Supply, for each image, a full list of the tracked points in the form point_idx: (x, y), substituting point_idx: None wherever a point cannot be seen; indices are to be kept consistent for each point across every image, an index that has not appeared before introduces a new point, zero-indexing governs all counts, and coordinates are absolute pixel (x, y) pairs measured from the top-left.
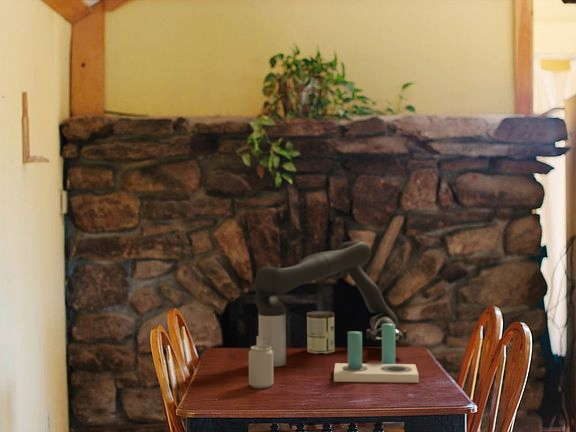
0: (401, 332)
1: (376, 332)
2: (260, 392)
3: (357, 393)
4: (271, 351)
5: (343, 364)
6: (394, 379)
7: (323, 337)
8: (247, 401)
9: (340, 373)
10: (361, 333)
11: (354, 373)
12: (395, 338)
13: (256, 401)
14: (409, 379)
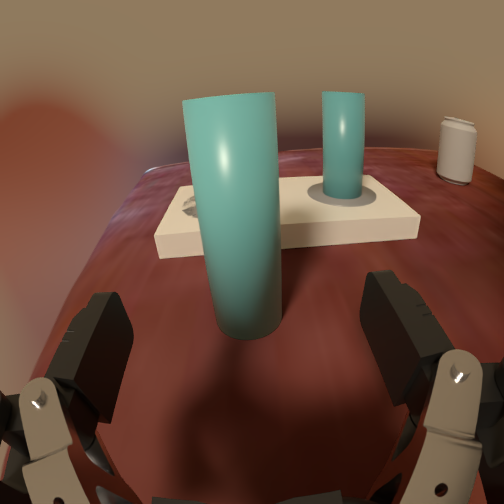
0: (33, 380)
1: (425, 408)
2: (429, 167)
3: (300, 168)
4: (444, 122)
5: (392, 211)
6: None
7: None
8: (415, 156)
9: None
10: (322, 92)
11: None
12: (128, 489)
13: (407, 156)
14: None
